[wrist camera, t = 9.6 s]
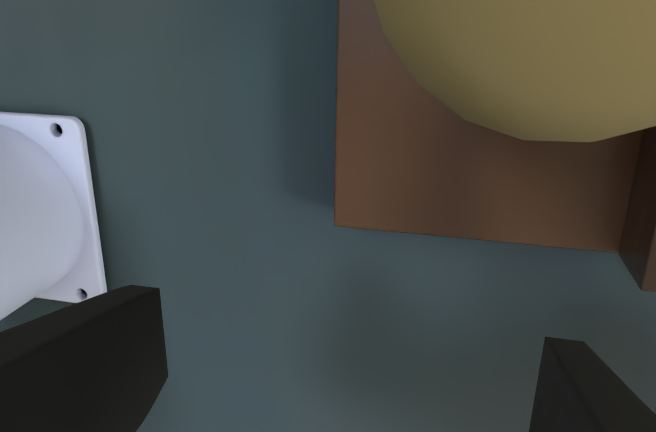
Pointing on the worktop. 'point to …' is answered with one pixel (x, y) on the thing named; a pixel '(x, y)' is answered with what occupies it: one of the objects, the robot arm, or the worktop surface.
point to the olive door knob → (533, 62)
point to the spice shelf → (477, 166)
